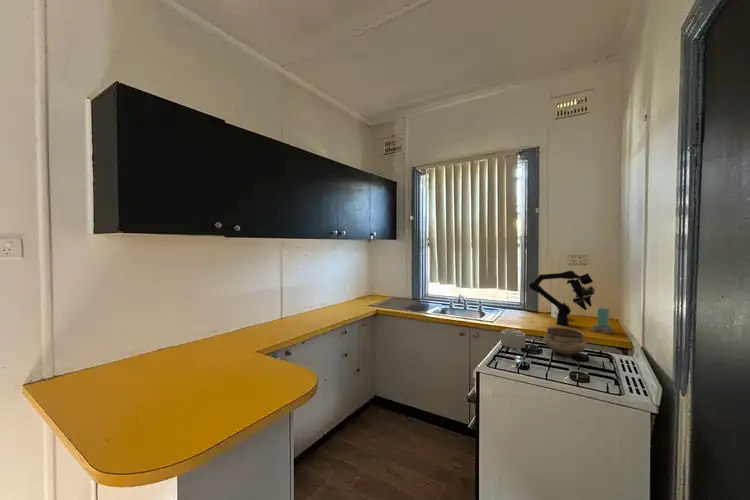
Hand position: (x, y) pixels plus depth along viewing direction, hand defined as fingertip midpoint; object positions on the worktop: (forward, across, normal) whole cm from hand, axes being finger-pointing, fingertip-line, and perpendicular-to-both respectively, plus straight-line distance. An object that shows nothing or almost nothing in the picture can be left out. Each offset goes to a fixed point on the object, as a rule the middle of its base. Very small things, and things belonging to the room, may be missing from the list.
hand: (588, 308), depth 216 cm
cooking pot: (+8, -71, -9) cm, 72 cm away
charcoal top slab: (+14, -6, -4) cm, 16 cm away
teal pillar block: (+12, -6, -5) cm, 14 cm away
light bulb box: (+4, +11, +29) cm, 31 cm away
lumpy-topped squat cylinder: (-3, -78, +13) cm, 80 cm away
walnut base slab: (+16, -6, -3) cm, 18 cm away
